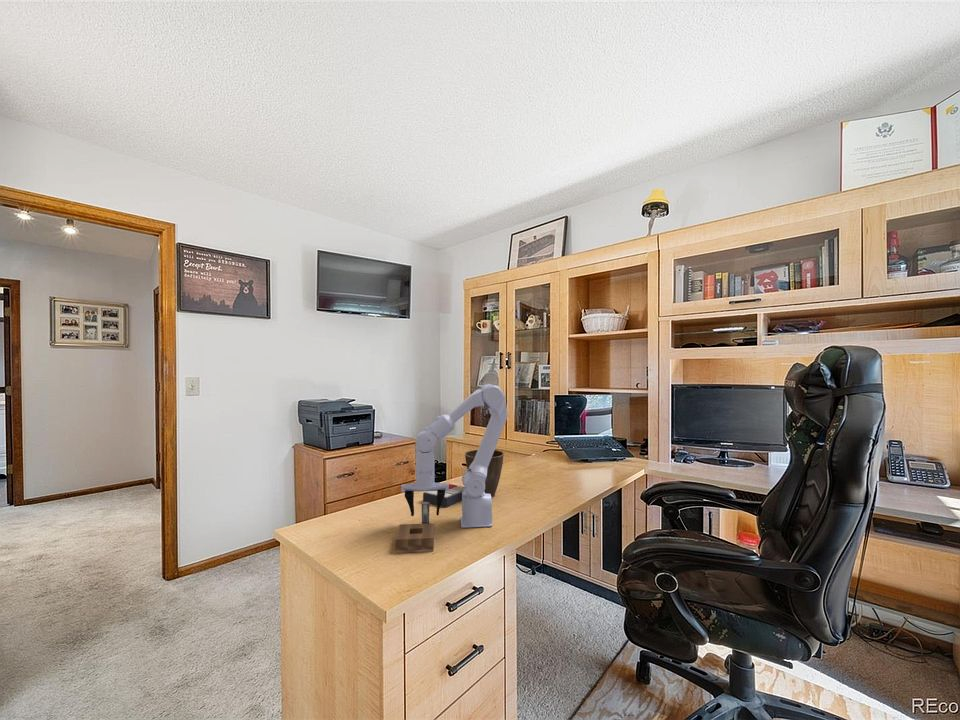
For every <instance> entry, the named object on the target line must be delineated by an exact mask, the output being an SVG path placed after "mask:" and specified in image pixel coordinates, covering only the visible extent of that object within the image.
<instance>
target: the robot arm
mask: <svg viewBox="0 0 960 720" xmlns="http://www.w3.org/2000/svg"><path fill="white" fill-rule="evenodd" d="M506 398H507V397H506V395H505V394H504V391H503V390H502V388H501V387H500V386H498V385H495V384H491V383H486V384H483V385H482V386H481V387H480V388H478V389H477V390H475V391H474V392H472V393H471V394H470V395H468V396H467V397H466V398H465V399H464V400H463V401H462V402H460V404H458V406H456V407H455V408H454V409H453V410H452V411H451V412H450V413H449V414H441V415H437V416H436V417H435V420H434V421H433V422H432V423H431V424H430V425H428V426H425V427H424V428H423V430H422V431H421V432H419V433H418V434H417V435H416V439H415V445H416V446H415V447H416V450H415V451H416V457H415V482H413V483H405V484H401V487H400V493H402V494H403V493H404V498H405V499H406V502H407V505H408V506H409V510H410V516H411V517H414V515H415V506H414V505H415V504H414V501H415V500H414V499H415V498H414V497H415V496H414V493H415V492H426V491H437V506H436V512H435V513H436V516H439V515H440V509H441V507H440V506H441V503H442V500H443V498H444V496H445V491H449V484H450V483H448V482H446V483H444V482H442V483H441V482H435V459H436V458H435V457H436V456H435V453H434V452H435V451H434V450H435V448H436V447H435V446H436V444H437V443H439V442H440V441H442V439H444V438H445V437H446V436H447V435H448V434H450V433H451V432H452V431H453V430H455V423H457V421H459V420H460V419H461V418H463V417H464V416H465V415H466V414H468V412H470V411H471V410H473V409H474V408H476V407H477V408H478V407H484V406H486V408H487V409H488V412H489V413H490V418H489V420H488V423H487V425H486V428H485V430H484V433H483V435H482V438H481V441H480V444H479V446H478V448H477V450H478V451H477V453H476V456H475V458H474V461H473V462H472V463H471V464H470V467H469V469H468V470H466V471H464V473H463V475H462V477H461V482H462V485H463V487H465V489H464V491H463V492H462V500H461V516H460V526H461V528H467V529H468V528H488V527H491V528H492V527H493V504H492V502H493V501H492V497H491V494H486V493H485V492H484V491H485V480H486V477H487V468H488V466H489V463H490V460H491V458H492V455H493V453H494V450H496V448H497V445H498V442H499V440H500V437H501V434H502V432H503V430H504V427H505V425H506V421H507V420H508V417H509V416H508V415H509V413H508V407H507V402H506Z"/></svg>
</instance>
